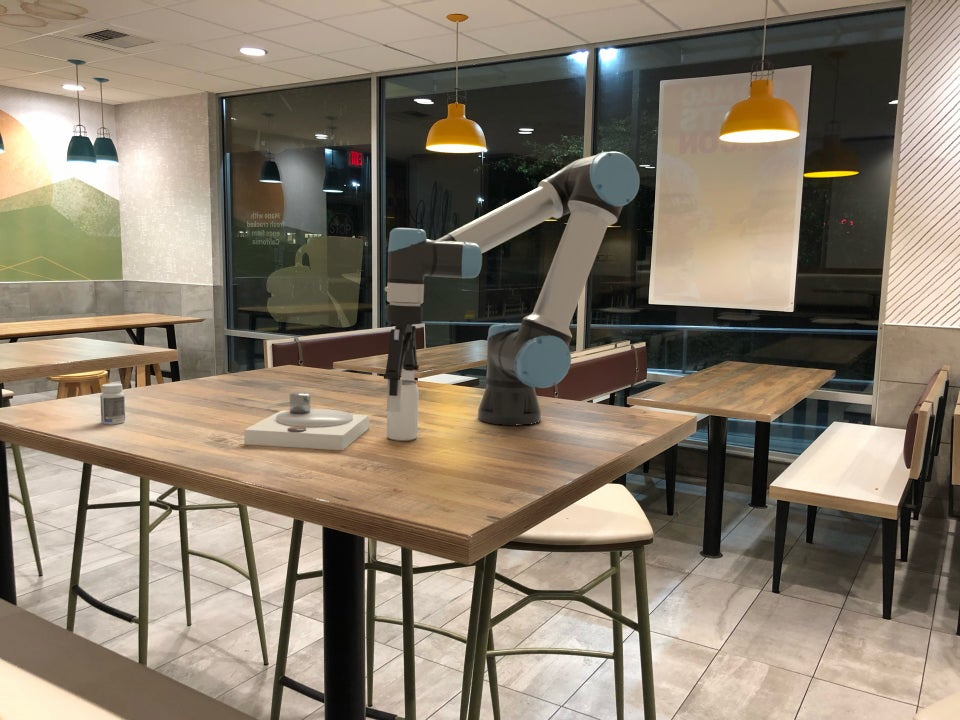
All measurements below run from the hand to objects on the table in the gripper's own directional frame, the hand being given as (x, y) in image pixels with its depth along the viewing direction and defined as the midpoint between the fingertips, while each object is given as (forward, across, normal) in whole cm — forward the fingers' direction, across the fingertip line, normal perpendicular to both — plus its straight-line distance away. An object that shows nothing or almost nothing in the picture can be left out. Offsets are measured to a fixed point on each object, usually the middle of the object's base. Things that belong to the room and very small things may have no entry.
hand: (400, 405), depth 156 cm
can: (+7, 0, 0) cm, 7 cm away
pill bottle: (+8, +1, -63) cm, 64 cm away
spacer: (+4, -4, -23) cm, 24 cm away
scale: (+7, +2, -18) cm, 20 cm away
